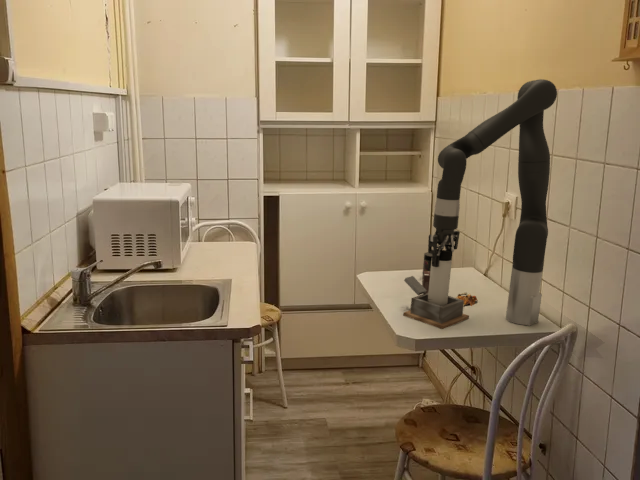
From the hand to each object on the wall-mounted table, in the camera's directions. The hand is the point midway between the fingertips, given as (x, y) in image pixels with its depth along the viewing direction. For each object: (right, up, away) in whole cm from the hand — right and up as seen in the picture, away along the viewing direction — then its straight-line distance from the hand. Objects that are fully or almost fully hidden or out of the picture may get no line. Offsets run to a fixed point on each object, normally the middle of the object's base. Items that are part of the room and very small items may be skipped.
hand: (441, 264), depth 187 cm
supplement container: (+5, -8, +44) cm, 45 cm away
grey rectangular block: (-7, -8, +9) cm, 13 cm away
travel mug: (-1, -15, +3) cm, 15 cm away
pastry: (+12, -15, +19) cm, 27 cm away
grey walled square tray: (-1, -17, +4) cm, 17 cm away
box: (+2, -12, +29) cm, 31 cm away
